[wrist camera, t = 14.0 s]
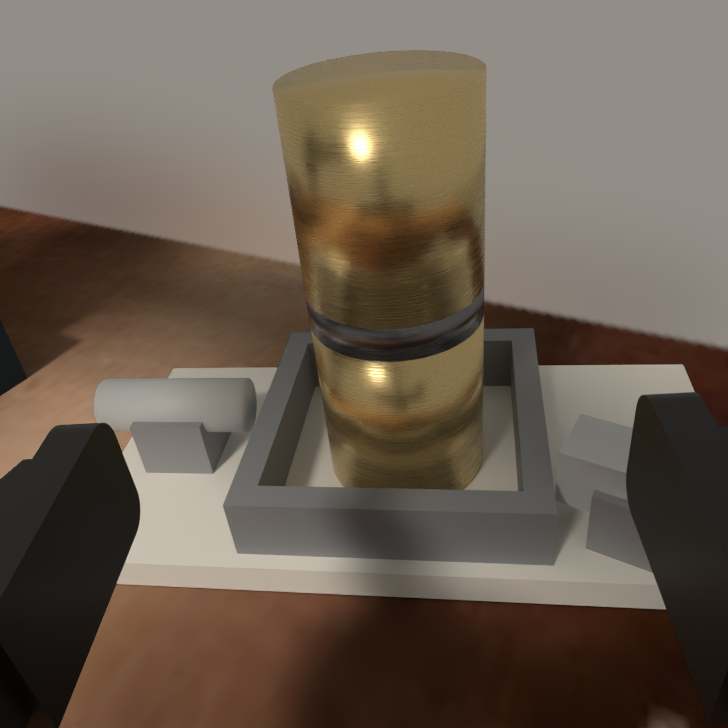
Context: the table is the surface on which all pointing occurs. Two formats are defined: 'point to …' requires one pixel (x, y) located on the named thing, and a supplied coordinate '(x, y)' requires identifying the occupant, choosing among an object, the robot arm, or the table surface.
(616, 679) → the table surface
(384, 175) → the cylinder
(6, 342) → the watch
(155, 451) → the stand
